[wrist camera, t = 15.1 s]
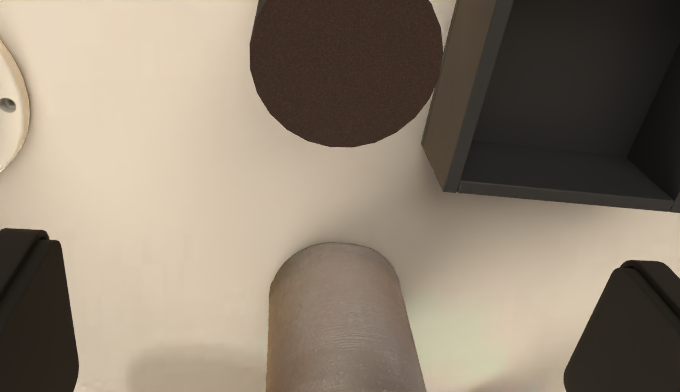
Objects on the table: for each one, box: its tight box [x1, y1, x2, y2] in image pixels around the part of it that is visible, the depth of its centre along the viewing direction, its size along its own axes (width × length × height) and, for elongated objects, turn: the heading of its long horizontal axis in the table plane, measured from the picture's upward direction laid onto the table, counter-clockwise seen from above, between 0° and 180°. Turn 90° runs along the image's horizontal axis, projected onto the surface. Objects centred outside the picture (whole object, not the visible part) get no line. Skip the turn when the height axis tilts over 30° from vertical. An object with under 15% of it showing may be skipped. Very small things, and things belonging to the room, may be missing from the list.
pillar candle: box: [266, 243, 426, 392], centre depth 35 cm, size 10×10×15 cm
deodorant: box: [250, 0, 443, 147], centre depth 23 cm, size 6×6×15 cm
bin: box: [421, 0, 680, 213], centre depth 31 cm, size 15×13×6 cm
